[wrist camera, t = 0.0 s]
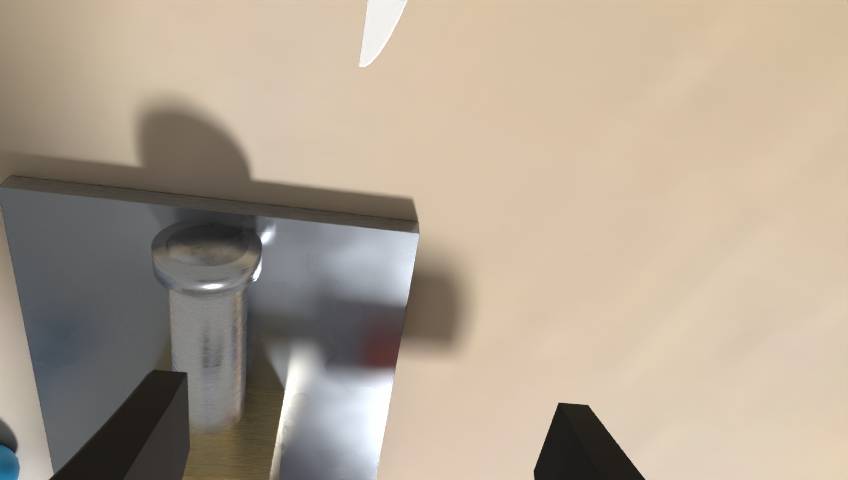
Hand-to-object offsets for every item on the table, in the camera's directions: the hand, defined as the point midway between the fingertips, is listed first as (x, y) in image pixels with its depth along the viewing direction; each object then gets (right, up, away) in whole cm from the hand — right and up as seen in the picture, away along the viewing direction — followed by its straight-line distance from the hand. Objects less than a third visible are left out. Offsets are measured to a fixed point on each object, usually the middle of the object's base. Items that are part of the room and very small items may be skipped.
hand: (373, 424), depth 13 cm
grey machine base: (-7, -4, +14) cm, 16 cm away
